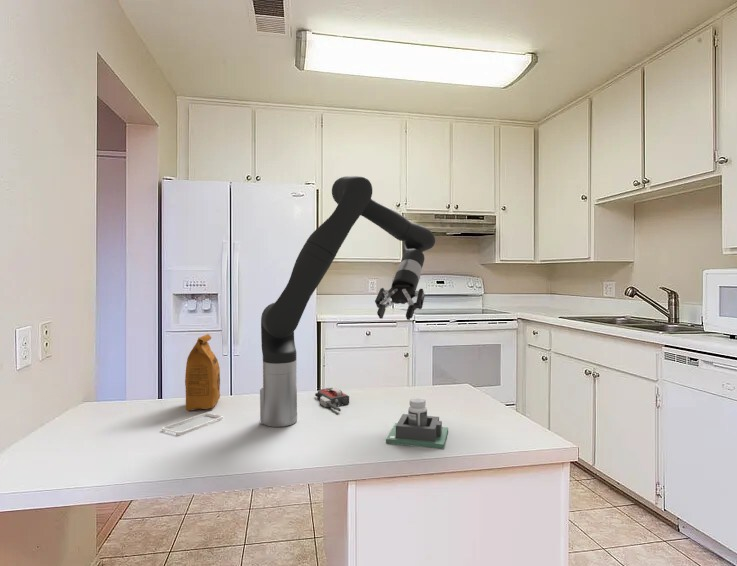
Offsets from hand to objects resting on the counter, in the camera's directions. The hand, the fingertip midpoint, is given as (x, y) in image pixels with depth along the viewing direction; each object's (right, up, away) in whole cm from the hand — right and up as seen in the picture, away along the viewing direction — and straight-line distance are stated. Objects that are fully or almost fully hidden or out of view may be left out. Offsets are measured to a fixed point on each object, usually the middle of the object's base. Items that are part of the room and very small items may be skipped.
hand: (393, 317), depth 130 cm
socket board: (+5, -29, -16) cm, 33 cm away
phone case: (-55, -30, -6) cm, 63 cm away
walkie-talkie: (-18, -29, +13) cm, 37 cm away
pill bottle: (+5, -28, -16) cm, 33 cm away
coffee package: (-59, -29, +11) cm, 67 cm away
